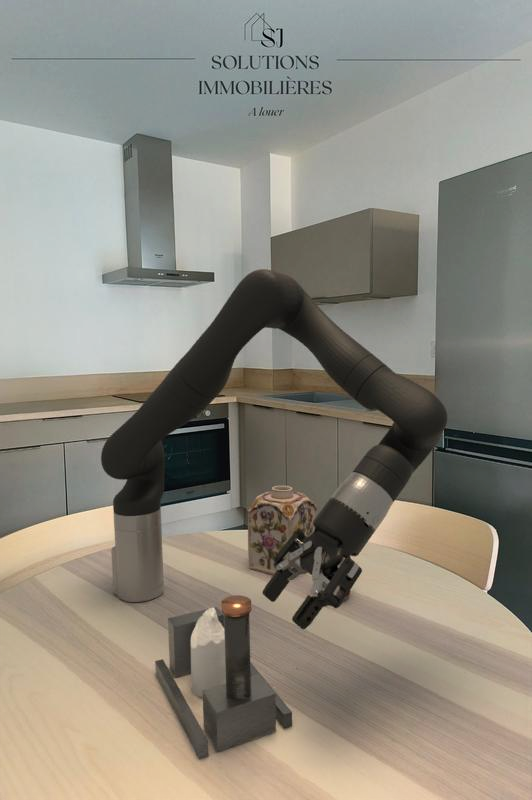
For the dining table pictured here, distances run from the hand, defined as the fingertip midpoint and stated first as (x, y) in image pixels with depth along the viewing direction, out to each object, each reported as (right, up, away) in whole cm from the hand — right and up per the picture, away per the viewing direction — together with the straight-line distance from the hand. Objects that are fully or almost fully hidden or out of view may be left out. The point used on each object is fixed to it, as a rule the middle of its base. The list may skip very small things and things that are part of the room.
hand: (281, 611), depth 74 cm
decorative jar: (+2, -10, +52) cm, 53 cm away
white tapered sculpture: (-10, -14, +8) cm, 19 cm away
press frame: (-9, -14, +5) cm, 18 cm away
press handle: (-5, -15, -1) cm, 16 cm away
